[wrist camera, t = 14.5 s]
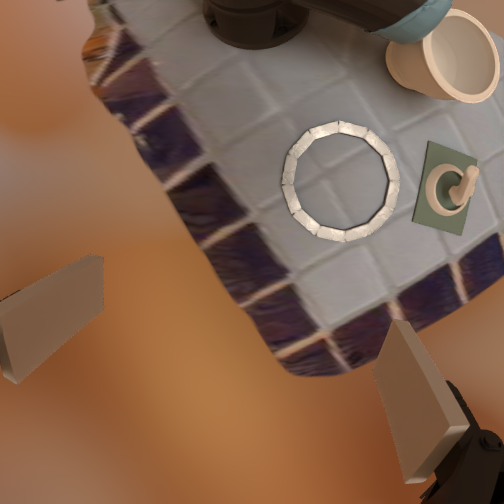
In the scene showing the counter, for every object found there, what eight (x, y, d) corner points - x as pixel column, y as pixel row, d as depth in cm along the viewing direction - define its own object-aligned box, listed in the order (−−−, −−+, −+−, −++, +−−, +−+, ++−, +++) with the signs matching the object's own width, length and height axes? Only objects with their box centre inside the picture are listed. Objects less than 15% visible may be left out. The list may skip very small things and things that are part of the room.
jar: (437, 104, 37) (497, 115, 23) (375, 88, 37) (419, 87, 24) (442, 40, 32) (501, 29, 18) (379, 20, 32) (423, -7, 19)
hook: (449, 120, 32) (493, 150, 28) (441, 169, 42) (475, 195, 39) (421, 156, 32) (468, 190, 29) (416, 201, 43) (451, 230, 39)
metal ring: (294, 112, 40) (294, 111, 39) (405, 140, 38) (408, 140, 37) (273, 225, 44) (272, 227, 43) (381, 249, 43) (383, 251, 42)
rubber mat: (427, 141, 38) (429, 140, 37) (475, 159, 37) (477, 159, 37) (411, 221, 41) (413, 221, 41) (459, 235, 41) (461, 235, 40)
